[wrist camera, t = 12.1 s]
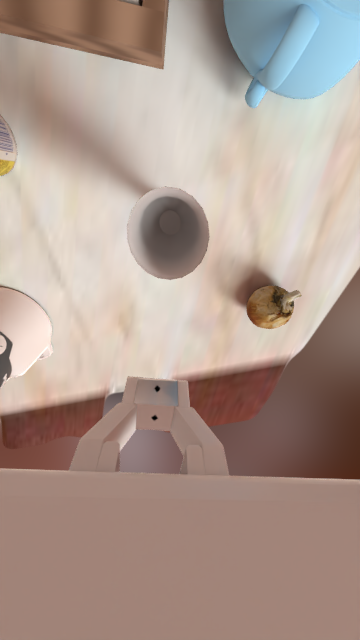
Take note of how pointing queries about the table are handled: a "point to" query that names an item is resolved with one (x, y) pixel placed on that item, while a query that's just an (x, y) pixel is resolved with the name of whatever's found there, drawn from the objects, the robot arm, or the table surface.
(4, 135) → the canned food
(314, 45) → the decorative pot
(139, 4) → the tile one
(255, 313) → the onion
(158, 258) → the chalice
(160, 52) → the button board
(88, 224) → the table surface
